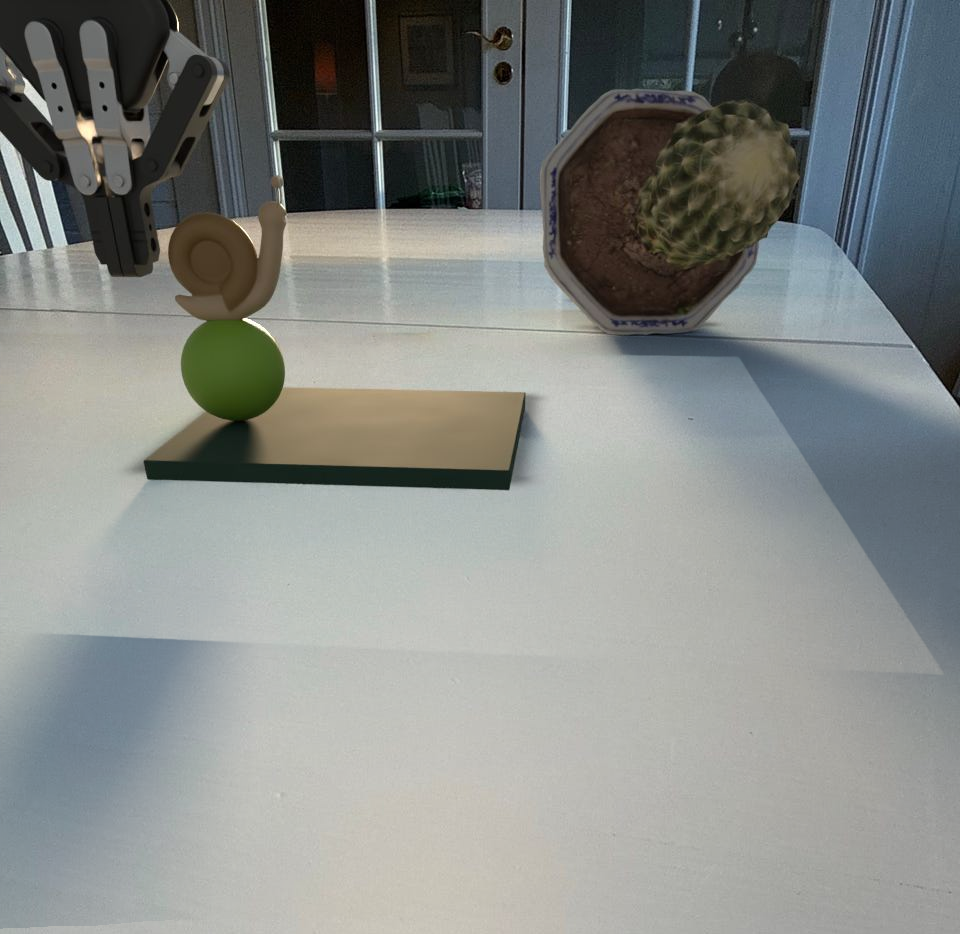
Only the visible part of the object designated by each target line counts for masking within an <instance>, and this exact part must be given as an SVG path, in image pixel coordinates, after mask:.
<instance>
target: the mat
mask: <svg viewBox="0 0 960 934" xmlns="http://www.w3.org/2000/svg"><path fill="white" fill-rule="evenodd" d="M526 394H527V393H526V392H525V391H483V390H482V391H477V390H432V389H431V390H428V389H427V390H426V389H383V388H381V389H380V388H335V387H333V388H332V387H288V386H287V387H284V386H283V388H282V391H281V394H280V396H279V397H278V399H277V401H276V402H275V403H274V404H273V406H272V407H271V408H270V409H268V410H267V411H266V412H265V413H263V414H261V415H259V416H257V417H255V418H252V419H249V420H243V421H231V420H225V419H221V418H218V417H216V416H214V415H212V414H210V413H208V412H207V411H204V412H203V413H202V414H201V415H200V416H198V417H197V418H196V419H194V420H193V421H192V422H191V423H189V424H188V425H187V426H185V427H183V429H182V430H180V431H179V432H178V433H176V434H175V435H174V436H173V437H171V438H170V439H169V440H168V441H166V442H165V443H164V444H162V445H161V446H160V447H158V448H157V449H156V450H155V451H154V452H153V453H151V454H150V455H148V456H147V457H146V458H145V459H143V466H144V471H145V477H146V479H147V480H151V481H178V482H179V481H182V482H184V481H185V482H215V483H216V482H217V483H219V482H220V483H249V484H250V483H253V484H280V485H281V484H284V485H285V484H286V485H290V484H291V485H316V486H317V485H318V486H319V485H320V486H348V487H349V486H352V487H358V486H359V487H382V488H384V487H385V488H386V487H387V488H419V489H420V488H421V489H424V488H425V489H426V488H427V489H448V490H449V489H451V490H452V489H453V490H483V491H484V490H485V491H486V490H487V491H489V490H490V491H510V489H511V483H512V479H513V473H514V468H515V463H516V459H517V452H518V448H519V442H520V437H521V432H522V426H523V422H524V417H525V411H526Z"/></svg>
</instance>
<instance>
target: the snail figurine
mask: <svg viewBox="0 0 960 934" xmlns="http://www.w3.org/2000/svg"><path fill="white" fill-rule="evenodd" d="M270 184H271V187H272V188H275V189H276V192H277V201H275V200H268V201H265V202H263V203H262V204H261V205H260V207H259V208H258V213H257V218H258V222H259V226H260V228H261V238H260V245H259V252H257V250H256V247H255V245H254V243H253V241H252V239H251V237H250V236H249V235H248V233H247V232H246V231H245V230H244V229H243V227H242V226H240V225H239V224H238V223H236V222H235V221H234V220H233V219H232V218H229V217H227V216H225V215H223V214H219V213H216V212H209V211H203V212H195V213H192V214H190V215H188V216H186V217H185V218H184V219H182V220H180V222H179V223H178V224H177V225H176V226H175V227H174V229H173V231H172V233H171V235H170V238H169V241H168V245H167V256H168V263H169V266H170V267H169V268H170V269H171V272H172V274H173V276H174V278H175V280H176V281H177V282H178V283H179V284H180V285H181V287H183V288H184V289H185V290H186V291H187V292H188V293H189V294H190V295H186V294H176V295H175V296H174V299H175V302H176V304H178V306H179V307H180V308H182V309H183V310H184V311H186V312H187V314H189V315H190V316H191V317H194V318H195V319H197V320H201V321H204V322H202V323H201V324H199V325H198V326H197V327H196V328H195V329H194V330H193V331H192V332H191V333H190V334H189V336H188V338H187V339H186V341H185V343H184V346H183V348H182V352H181V356H180V372H181V377H182V382H183V384H184V386H185V388H186V390H187V393H188V394H189V395H190V397H191V398H192V400H193V401H194V403H196V405H198V406H199V407H200V408H201V409H203V410H204V412H206V411H207V412H208V413H210V414H212V415H214V416H216V417H218V418H221V419H225V420H231V421H243V420H249V419H252V418H255V417H257V416H259V415H261V414H263V413H265V412H266V411H267V410H268V409H270V408H271V407H272V406H273V404H274V403H275V402H276V401H277V399H278V397H279V396H280V394H281V391H282V388H283V387H284V386H285V381H286V380H285V379H286V366H285V365H286V364H285V359H284V357H283V354H282V350H281V348H280V346H279V344H278V342H276V339H274V337H273V336H272V335H271V334H270V333H269V332H268V331H267V330H266V329H265V328H264V327H263V326H261V325H260V324H258V323H256V322H255V321H252V320H251V319H248V317H250V316H252V315H254V314H255V313H257V312H259V311H260V310H262V309H264V307H266V306H267V305H268V304H269V302H270V301H271V299H272V298H273V296H274V293H275V291H276V288H277V285H278V282H279V280H280V279H279V278H280V274H281V268H282V267H281V266H282V259H283V251H284V233H285V229H286V226H287V219H286V216H287V214H288V213H287V210H286V208H285V207H284V205H282V204H283V200H282V187H283V186H284V178H283V176H281V175H279V174H277V175H274V176H272V177H271V178H270Z"/></svg>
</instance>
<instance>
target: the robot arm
mask: <svg viewBox="0 0 960 934" xmlns="http://www.w3.org/2000/svg"><path fill="white" fill-rule="evenodd" d="M178 20H179V19H178V16H177V13H176V11H175V10H174V8H173V5H171V3H170V1H169V0H0V133H1V134H2V135H3V136H4V138H5V139H7V141H8V142H9V143H10V144H11V145H12V146H13V147H14V149H15V150H16V151H17V152H18V153H19V154H20V155H21V157H22V158H23V159H24V160H25V161H26V162H27V163H28V164H29V165H30V167H32V169H33V171H35V172H36V174H38V176H40V177H41V178H42V179H43V180H44V181H49V182H52V181H54V182H55V181H57V182H59V183H62V184H64V185H67V186H70V187H72V188H74V189H75V190H76V191H77V192H79V194H80V195H81V197H82V200H83V203H84V208H85V212H86V217H87V222H88V227H89V231H90V236H91V240H92V246H93V250H94V255H95V256H96V258H97V260H98V262H99V263H100V265H103V266H104V265H106V267H107V271H108V274H109V275H110V277H112V278H142V277H146V276H148V275H151V274H152V273H153V271H154V263H156V262H159V260H160V255H161V247H160V241H159V238H158V237H159V235H158V230H157V224H156V223H157V222H156V218H155V213H154V207H153V201H152V193H153V190H154V188H155V187H156V186H158V185H159V184H161V183H163V182H166V181H168V180H170V179H171V178H174V177H175V178H176V177H179V176H180V175H182V173H183V172H184V170H185V168H186V166H187V164H188V162H189V160H190V158H191V155H192V154H193V152H194V151H195V149H196V147H197V144H198V142H199V140H200V139H201V136H202V134H203V133H204V130H205V128H206V126H207V124H208V123H209V121H210V119H211V117H212V114H213V113H214V111H215V110H216V107H217V105H218V103H219V101H220V99H221V97H222V95H223V93H224V91H225V89H226V87H227V86H228V84H229V81H230V78H231V72H230V68H229V66H228V65H227V63H226V62H225V61H224V60H223V59H222V58H219V57H215V56H209V55H207V54H206V53H205V52H204V51H202V50H201V49H200V48H199V47H198V46H197V45H195V43H193V42H192V41H191V40H190V39H189V38H187V37H186V36H185V35H183V33H181V32H180V31H179V21H178ZM167 63H168V69H167V72H166V81H167V85H168V87H169V89H171V90H172V91H171V93H170V96H169V97H168V100H167V102H166V104H165V106H164V108H163V110H162V112H161V114H160V116H159V118H158V120H157V122H156V124H155V127H154V129H153V130H152V131H151V129H152V128H151V120H150V110H149V103H150V102H151V100H152V98H153V96H154V94H155V92H156V89H157V87H158V85H159V82H160V80H161V77H162V75H163V73H164V71H165V68H166V66H167ZM20 73H21V74H20ZM23 77H24V78H25V79H26V81H27V82H28V83H29V84H30V85H31V87H32V88H33V89H34V91H35V92H36V93H37V94H38V95H39V96H40V98H41V99H42V100H43V101H44V102H45V104H46V107H47V111H48V114H49V118H50V121H51V122H50V121H49V120H48V119H47V117H46V116H45V115H44V114H43V113H42V111H41V110H39V108H38V107H37V106H36V105H35V104H34V103H33V101H32V100H31V99H30V98H29V97H28V96H27V95H26V94H25V89H26V82H25V80H24V79H23ZM151 132H152V133H151Z"/></svg>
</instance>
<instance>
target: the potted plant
mask: <svg viewBox="0 0 960 934" xmlns="http://www.w3.org/2000/svg"><path fill="white" fill-rule="evenodd" d="M798 170H799V166H798V160H797V152H796V151H795V148H793V147H792V146H791V132H790V127H789V125H788V124H787V123H784V122H781V121H779V120H778V119H776V118H775V117H774V116H772V114H771V112H770V111H769V110H767V109H765V108H763V107H761V106H759V105H757V103H755V102H754V101H753V100H751V99H749V98H748V97H747V98H745V99H739V100H734V99H732V100H729V101H723V102H721V103H720V104H719V105H716V106H712V105H711V104H710V102H709V101H708V100H707V98H706V97H705V96H703V95H701V94H699V93H696V91H695V92H694V91H691V90H662V89H647V88H632V89H611V90H610V91H607V92H605V93H603V94H602V95H600V97H598V99H596V101H594V102H593V103H592V104H591V105H589V107H588V108H587V109H586V110H585V111H584V112H583V114H582V115H581V116H580V117H579V118H578V119H577V120H576V121H575V122H574V124H573V126H572V127H571V128H570V129H569V130H568V132H567V133H566V134H565V135H564V136H563V137H562V139H561V140H559V142H558V143H557V144H556V145H555V146H554V147H553V148H552V150H551V151H550V152H549V153H548V155H547V156H546V158H544V160H543V161H542V162H541V166H540V175H539V190H540V191H539V193H540V194H539V195H540V205H541V217H542V234H543V235H542V253H543V260H544V262H543V263H544V264H543V266H544V268H545V270H546V272H547V274H548V275H549V277H550V278H551V280H552V281H553V282H554V284H556V285H557V287H558V288H559V290H561V291H562V292H563V293H564V294H565V296H567V298H569V300H570V301H571V302H572V303H573V304H574V305H575V306H576V307H577V308H578V309H579V310H580V311H581V312H582V313H583V314H584V316H585V317H586V318H587V319H588V320H590V322H592V323H593V325H595V326H596V327H597V328H598V329H599V330H601V331H602V332H605V333H606V334H608V335H613V336H632V335H641V336H648V335H651V334H662V335H663V334H669V335H672V334H679V333H680V334H681V333H687V332H693V331H697V330H698V329H699V328H700V327H701V326H702V325H704V324H705V323H706V322H707V321H709V319H710V318H711V316H712V315H713V314H714V313H715V312H716V311H717V309H718V308H719V307H720V306H721V304H723V302H724V301H725V300H726V299H727V298H729V296H730V295H732V294H733V293H734V292H735V291H736V290H737V289H738V288H739V287H740V285H741V284H742V282H743V281H744V279H745V278H746V277H747V276H748V275H749V274H750V273H751V272H752V271H753V270H754V267H756V264H757V259H758V253H759V249H760V241H762V240H763V239H767V238H768V236H769V232H770V230H771V228H772V227H773V226H774V225H775V224H776V223H777V222H778V221H779V219H780V217H782V215H783V214H784V211H786V209H787V208H789V206H790V203H791V201H793V199H794V198H795V194H794V190H795V188H796V184H797V182H798V180H800V178H801V176H800V174H799V172H798Z"/></svg>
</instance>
